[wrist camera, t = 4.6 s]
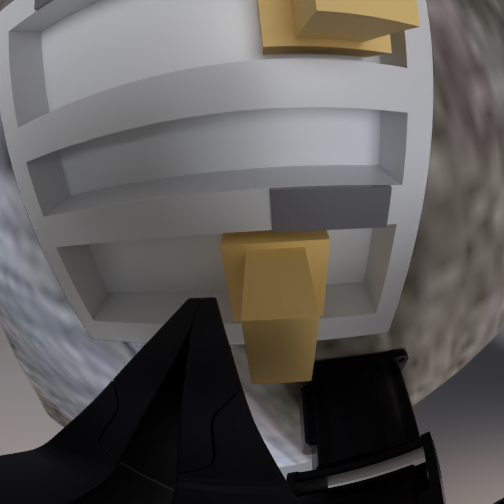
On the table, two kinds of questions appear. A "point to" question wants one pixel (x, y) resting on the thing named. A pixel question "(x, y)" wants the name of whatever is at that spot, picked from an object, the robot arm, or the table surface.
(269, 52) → the near tab
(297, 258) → the far tab
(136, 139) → the switch bank
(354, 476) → the robot arm
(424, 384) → the table surface
